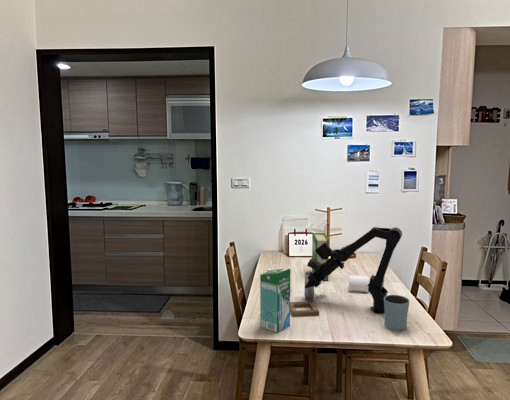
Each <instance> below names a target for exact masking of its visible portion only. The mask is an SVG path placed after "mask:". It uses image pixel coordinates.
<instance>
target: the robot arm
mask: <svg viewBox="0 0 510 400" xmlns="http://www.w3.org/2000/svg"><path fill="white" fill-rule="evenodd" d="M402 236H403V232H402V230H401V229H400V228H399V227H392V228H390V227H389V228H388V227H377V226H374V227H372V228H370V230H369V231H367V232H366V233H365V234H363V235H362V236H360V237H359V238H358V239H356V240H354V242H352V243H350V244H347V245H345V246H343V247H341V248H339V249H338V248H337V249H332V248H331V247H330V245H329V246H328V244H327V243H326V242H325V243H324V244H322V245H321V246H320V247H318V248H317V249H316V250H315V252H316V253H317V254H318V255H319V257H320V258H321V259H322V260H324V259H325V260H326V259H327V258H328V257H329V259H328V260H327V261H326V262H325V263H323V264H321V263H320V262H319V261H317V260H315V259H313V258H312V257H311V258H310V259H309V261H308V262H307V267H308V268H311V270H312V269H314V270H315V271H314V273H312V274H311V275H309V276H308V277H307V278H308V279H309V281H308V283H307V284H306V285H305V284H304V289H305V288H310V287H314V288H318V287H319V286H320V285H321V284H322V281H325V280H324V279H325V278H326V277H327V276H328V277H329V276H330V275H331V274H332V273H333V272H334V271H335V270H336V269H338V268H340V269H341V270H343V269H344V268H345V263H346V262H347V260H349V259H350V257H352V255H353V254H355V253H356V251H357V250H359V249H360V248H362V247H363V246H365V245H366V244H368V243H369V242H370V241H372V240H373V239H375V238H379V239H380V240H381V239H383V240H385V248H384V251H383V254H382V257H381V259H380V262H379V264H378V265H379V266H378V268H377V269H376V270H377V271H376V273H375V275H374V274H372V275H371V276H370V277H369V284H368V286H369V287H368V291H369V292H368V293H369V294H370V295H371V297H372V299H373V300H372V301H373V302H372V306H370V310H371V311H372V312H374V313H375V314H385V309H384V297H385V296H387V295H388V293H389V291H388V290H387V289H386V288H385V287H384V285H385V284H384V283H385V275H386V274H387V270H388V267H389V264H390V262H391V260H392V257H393V253H394V250H395V248H396V247H397V245H398V244H399V242H400V240H401V238H402Z"/></svg>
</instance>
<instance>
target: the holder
mask: <svg viewBox="0 0 510 400" xmlns="http://www.w3.org/2000/svg"><path fill="white" fill-rule="evenodd" d="M297 308H301V309H302V308H310V309H302V310H299V309H298V310H297ZM290 315H291V316H292V317H293V318H294V317H295V318H296V317H317V316H318V317H319V316H320V311H319V309H318V307H317V305H316V304H315V302H314V300H313V301H290Z"/></svg>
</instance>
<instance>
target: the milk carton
mask: <svg viewBox="0 0 510 400" xmlns="http://www.w3.org/2000/svg"><path fill="white" fill-rule="evenodd" d="M259 279H260V280H259V283H260V284H259V285H260V287H259V288H260V289H259V290H260V291H259V292H260V293H259V294H260V295H259V298H260V300H259V301H260V303H259V304H260V305H259V306H260V307H259V309H260V316H259V317H260V319H259V320H260V321H259V322H260V328H262V329H265V330H268V331H271V332H273V333H276V334H279V333H280V332H282V331H283V330H286V328H287V329H288V327H290V326H291V312H290V302H291V268H276V267H272V268H268V269H266V272H264V273H261V274H260V275H259Z"/></svg>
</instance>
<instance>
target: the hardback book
mask: <svg viewBox="0 0 510 400" xmlns="http://www.w3.org/2000/svg"><path fill="white" fill-rule="evenodd" d="M311 235H312V237H311V238H312V239H311V240H312V241H311V242H312V243H311V245H312V248H311V258H313V259H315V260H317V261H319V262H320V263H321V264H323V263H325V262H326V261H327V260H328V259H330V257H328V258H327V259H326V260H325V259H324V260H322V259H321V258H320V257H319V255H318V254H317V253H316V252H315V250H316V249H317V248H318V247H320V246H321V245H322V244H324V243H325V242H326V243H327V244H328V246H329V247H330V240H329V237H328V235H327V234H326V233H325V232H312V234H311ZM314 271H315V270H314V269H312V268H311V272H314ZM323 281H325V282H329V275H328V276H327V277H326V278H325V279H324V280H323Z"/></svg>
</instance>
